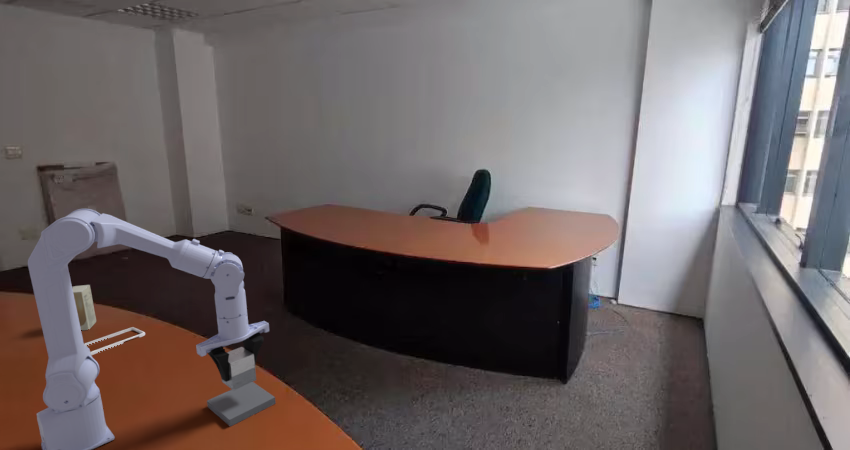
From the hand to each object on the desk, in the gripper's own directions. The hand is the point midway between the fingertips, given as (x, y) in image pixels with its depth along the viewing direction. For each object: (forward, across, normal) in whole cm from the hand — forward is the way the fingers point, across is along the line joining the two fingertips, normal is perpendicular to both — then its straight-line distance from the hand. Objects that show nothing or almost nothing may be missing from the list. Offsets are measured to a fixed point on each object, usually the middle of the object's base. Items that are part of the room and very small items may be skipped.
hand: (238, 373), depth 94 cm
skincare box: (+8, +11, -74) cm, 75 cm away
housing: (+2, 0, 0) cm, 2 cm away
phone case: (+8, +9, -56) cm, 57 cm away
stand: (+7, 0, 0) cm, 7 cm away
